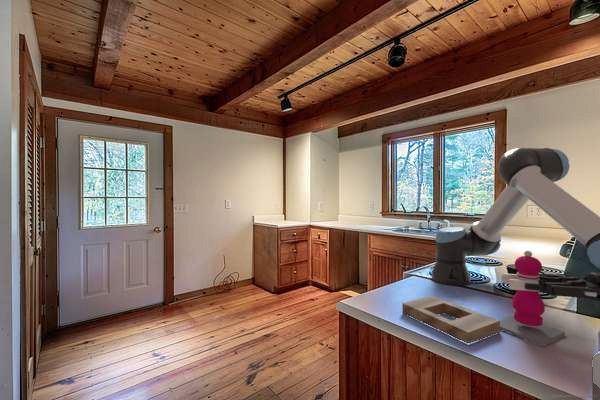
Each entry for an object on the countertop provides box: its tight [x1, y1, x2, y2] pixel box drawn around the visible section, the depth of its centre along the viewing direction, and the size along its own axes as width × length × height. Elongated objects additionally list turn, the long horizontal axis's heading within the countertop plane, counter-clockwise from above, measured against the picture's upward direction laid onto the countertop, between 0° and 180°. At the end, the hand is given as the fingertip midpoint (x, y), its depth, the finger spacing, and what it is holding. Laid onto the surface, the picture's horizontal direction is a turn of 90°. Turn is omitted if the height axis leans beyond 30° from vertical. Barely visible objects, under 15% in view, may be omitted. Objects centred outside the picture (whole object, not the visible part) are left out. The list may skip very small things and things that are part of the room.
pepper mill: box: [511, 250, 546, 326], centre depth 79 cm, size 7×7×20 cm
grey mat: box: [499, 315, 566, 347], centre depth 80 cm, size 12×12×1 cm
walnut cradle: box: [401, 295, 501, 343], centre depth 86 cm, size 22×14×4 cm, turn 26°
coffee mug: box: [506, 263, 546, 294], centre depth 109 cm, size 12×9×10 cm
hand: (506, 281), depth 81 cm, fingers closed on pepper mill, 5 cm apart
